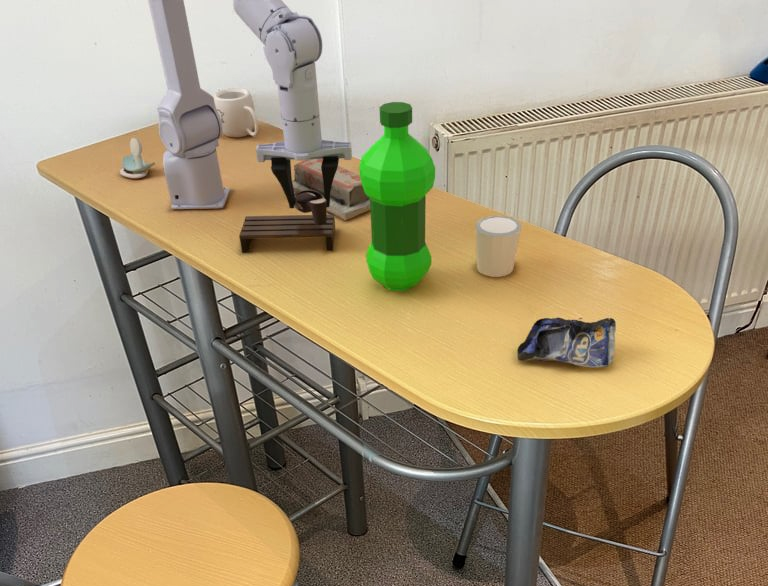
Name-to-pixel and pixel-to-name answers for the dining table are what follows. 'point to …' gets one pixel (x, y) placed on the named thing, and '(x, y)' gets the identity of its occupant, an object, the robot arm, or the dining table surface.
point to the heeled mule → (312, 205)
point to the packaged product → (333, 188)
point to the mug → (236, 112)
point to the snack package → (570, 342)
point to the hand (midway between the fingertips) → (309, 205)
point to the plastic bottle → (397, 201)
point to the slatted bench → (286, 229)
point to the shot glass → (497, 245)
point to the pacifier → (139, 165)
